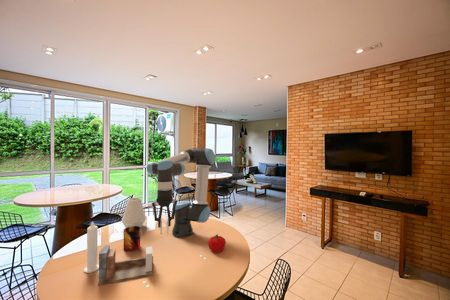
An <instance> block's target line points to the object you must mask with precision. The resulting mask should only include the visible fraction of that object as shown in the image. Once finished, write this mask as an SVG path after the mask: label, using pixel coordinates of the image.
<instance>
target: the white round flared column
mask: <svg viewBox="0 0 450 300" xmlns="http://www.w3.org/2000/svg"><path fill="white" fill-rule="evenodd" d="M98 228H99V227H98V226H97V225H95V223H94V221H91V224H90V225H89V227H87V229H86V233H87V234H86V235H87V236H86V266H85V267H84V268H83V272H84V273H85V274H89V273H90V274H92V273H94V272H97V271H99V263H98V231H99V230H98Z"/></svg>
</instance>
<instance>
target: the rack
mask: <svg viewBox="0 0 450 300" xmlns="http://www.w3.org/2000/svg"><path fill="white" fill-rule="evenodd" d="M116 255H117V254H116V248H111V247H110V244H109V245H103V246H102V247H101V249H100V251H99V253H98V264H99V269H98V282H97V287H98V286H99V287H100V286H104V285H108V284H113V283H119V282H124V281H130V280H135V279H139V278H140V279H141V278H144V277H150V276H154V256H153V255H152V271H149V272H146V256H145V257H144V256H143V257H139V258H132V259H126V260H119V261H116Z"/></svg>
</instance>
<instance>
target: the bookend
mask: <svg viewBox="0 0 450 300" xmlns="http://www.w3.org/2000/svg"><path fill="white" fill-rule="evenodd" d="M152 256H153V246H146V247H145V257H146V272H149V271H152Z"/></svg>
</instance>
